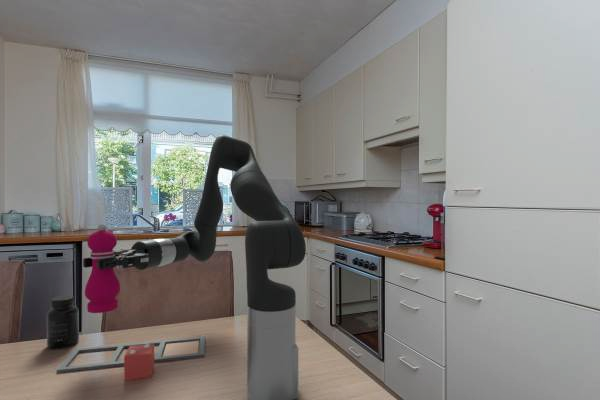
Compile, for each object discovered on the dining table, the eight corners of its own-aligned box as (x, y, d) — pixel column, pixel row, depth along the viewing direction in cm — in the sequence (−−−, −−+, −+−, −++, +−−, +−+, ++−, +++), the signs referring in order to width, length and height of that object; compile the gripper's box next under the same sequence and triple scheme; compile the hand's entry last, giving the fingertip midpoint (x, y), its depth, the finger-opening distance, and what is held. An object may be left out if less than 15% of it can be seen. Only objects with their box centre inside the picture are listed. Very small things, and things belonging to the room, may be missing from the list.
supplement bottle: (52, 340, 91) (52, 295, 91) (82, 337, 93) (82, 293, 93) (41, 351, 85) (41, 302, 85) (74, 347, 87) (74, 300, 87)
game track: (204, 338, 92) (204, 336, 92) (204, 356, 82) (204, 354, 82) (75, 351, 85) (75, 348, 85) (56, 372, 74) (56, 370, 74)
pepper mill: (104, 315, 77) (104, 225, 77) (77, 313, 78) (76, 224, 78) (127, 305, 84) (126, 222, 84) (101, 303, 85) (100, 222, 85)
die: (154, 366, 77) (154, 341, 77) (150, 377, 72) (150, 350, 72) (129, 368, 76) (129, 343, 76) (124, 380, 71) (124, 353, 71)
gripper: (136, 238, 97) (72, 245, 82) (172, 240, 90) (110, 249, 75) (136, 264, 97) (73, 277, 82) (172, 269, 90) (110, 284, 75)
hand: (91, 264), depth 79 cm, fingers closed on pepper mill, 4 cm apart
